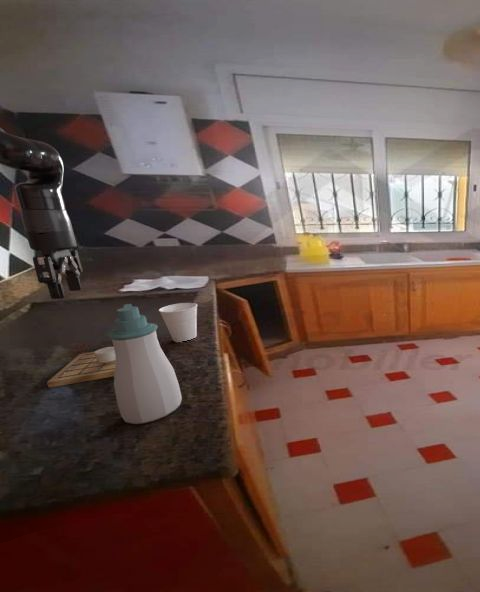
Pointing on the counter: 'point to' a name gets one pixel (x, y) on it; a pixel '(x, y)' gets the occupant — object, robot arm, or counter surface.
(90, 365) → the board
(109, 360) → the white short cylinder
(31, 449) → the counter surface
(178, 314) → the cup
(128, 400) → the soap bottle
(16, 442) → the counter surface
